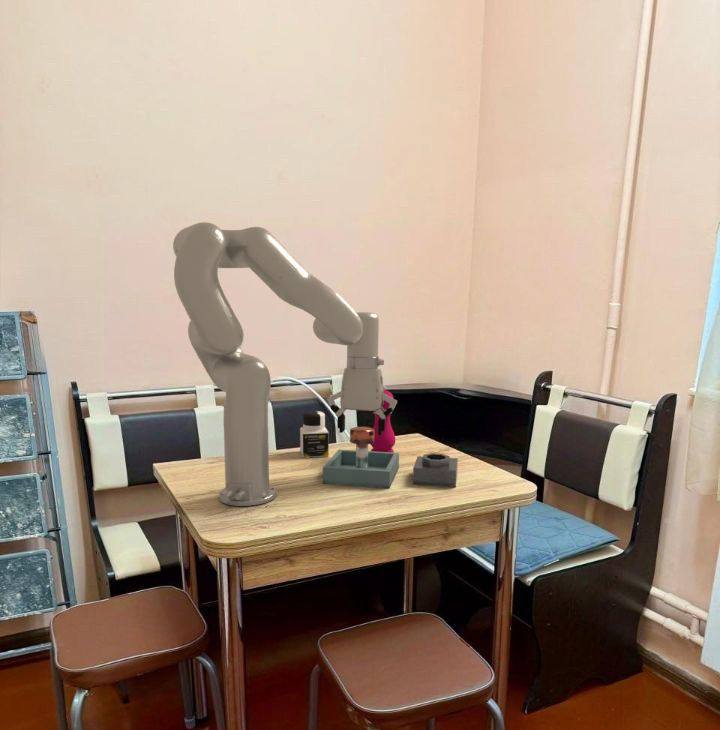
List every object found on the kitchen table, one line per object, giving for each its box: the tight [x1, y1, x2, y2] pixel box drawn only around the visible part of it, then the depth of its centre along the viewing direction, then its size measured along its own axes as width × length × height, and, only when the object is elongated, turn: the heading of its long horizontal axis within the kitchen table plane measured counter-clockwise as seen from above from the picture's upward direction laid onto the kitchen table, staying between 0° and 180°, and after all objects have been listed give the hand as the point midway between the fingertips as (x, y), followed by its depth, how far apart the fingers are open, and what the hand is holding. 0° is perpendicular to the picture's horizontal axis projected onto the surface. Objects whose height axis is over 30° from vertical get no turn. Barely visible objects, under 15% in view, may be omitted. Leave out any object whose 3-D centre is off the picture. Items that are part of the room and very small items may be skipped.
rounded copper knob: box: [349, 426, 374, 469], centre depth 143 cm, size 6×6×11 cm
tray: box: [322, 448, 400, 489], centre depth 144 cm, size 16×16×4 cm
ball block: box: [412, 452, 459, 488], centre depth 141 cm, size 10×10×6 cm
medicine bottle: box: [299, 410, 330, 459], centre depth 162 cm, size 7×7×12 cm
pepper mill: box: [369, 384, 396, 453], centre depth 160 cm, size 7×7×20 cm
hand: (361, 432), depth 143 cm, fingers open, 9 cm apart
